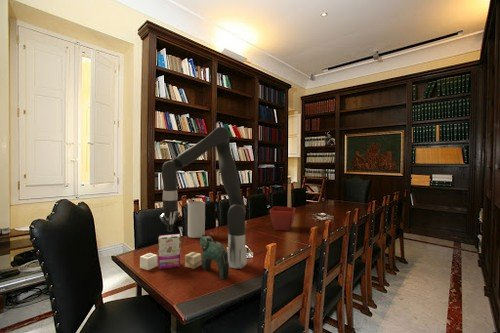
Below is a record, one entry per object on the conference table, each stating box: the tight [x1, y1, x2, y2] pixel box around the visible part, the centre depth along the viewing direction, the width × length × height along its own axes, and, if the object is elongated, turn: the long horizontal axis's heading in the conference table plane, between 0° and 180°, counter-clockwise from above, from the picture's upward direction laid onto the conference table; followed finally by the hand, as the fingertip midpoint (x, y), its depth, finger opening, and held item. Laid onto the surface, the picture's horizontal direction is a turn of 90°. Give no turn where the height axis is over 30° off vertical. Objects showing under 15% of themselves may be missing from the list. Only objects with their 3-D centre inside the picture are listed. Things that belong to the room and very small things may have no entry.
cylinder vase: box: [187, 200, 206, 239], centre depth 186 cm, size 12×12×25 cm
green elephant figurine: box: [199, 232, 230, 280], centre depth 125 cm, size 20×6×20 cm, turn 45°
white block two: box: [139, 252, 158, 271], centre depth 131 cm, size 6×6×6 cm
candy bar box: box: [157, 233, 182, 270], centre depth 132 cm, size 11×5×16 cm, turn 106°
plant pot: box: [269, 206, 296, 232], centre depth 208 cm, size 19×19×17 cm
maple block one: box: [184, 251, 202, 269], centre depth 133 cm, size 6×6×6 cm
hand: (169, 231), depth 131 cm, fingers closed
